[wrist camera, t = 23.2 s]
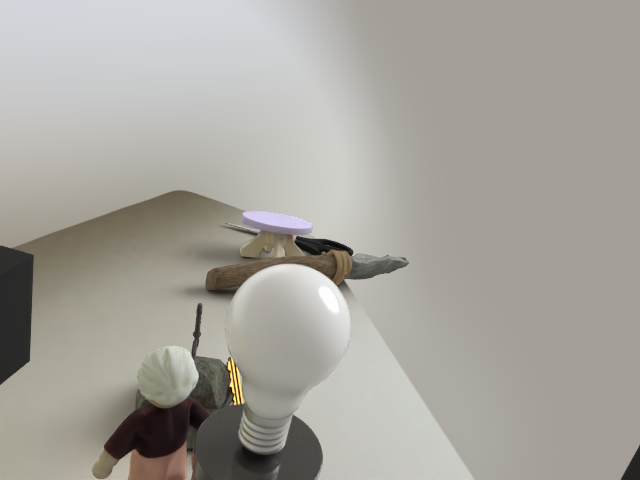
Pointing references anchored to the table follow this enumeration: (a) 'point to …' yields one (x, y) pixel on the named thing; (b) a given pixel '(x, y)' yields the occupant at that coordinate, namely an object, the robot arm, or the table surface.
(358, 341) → the table surface
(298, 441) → the jar
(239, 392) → the key
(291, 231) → the toy table
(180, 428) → the grandmother figurine
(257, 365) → the lightbulb
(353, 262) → the stone tool
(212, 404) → the sword in stone
